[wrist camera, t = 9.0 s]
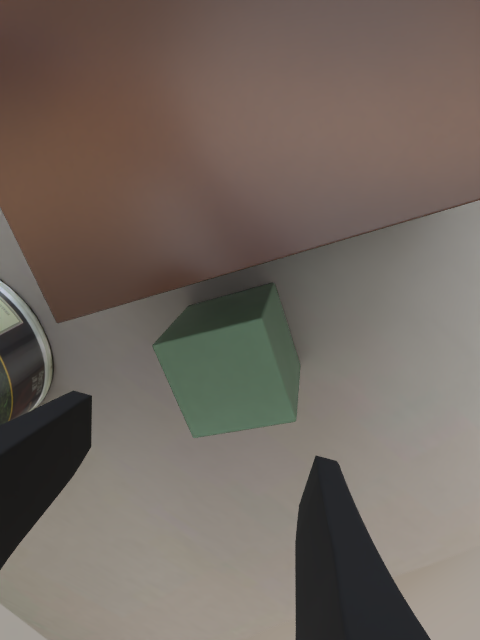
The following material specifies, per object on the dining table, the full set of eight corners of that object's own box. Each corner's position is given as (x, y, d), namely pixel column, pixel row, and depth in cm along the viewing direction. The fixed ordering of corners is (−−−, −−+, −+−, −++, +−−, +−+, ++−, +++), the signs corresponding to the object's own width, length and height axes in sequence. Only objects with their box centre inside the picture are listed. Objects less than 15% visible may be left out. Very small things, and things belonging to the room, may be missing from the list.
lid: (525, 182, 9) (541, 182, 9) (68, 317, 14) (56, 324, 13) (436, -661, 6) (450, -762, 5) (-146, -135, 10) (-178, -156, 9)
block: (218, 382, 20) (192, 439, 16) (187, 305, 19) (150, 345, 15) (300, 366, 19) (296, 422, 15) (274, 281, 18) (262, 317, 13)
